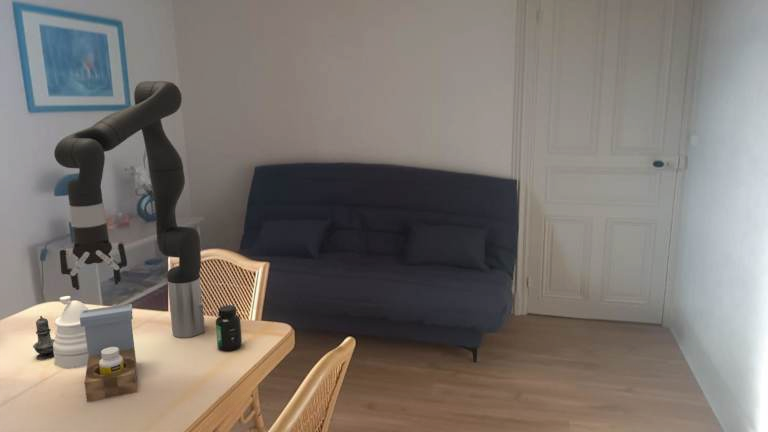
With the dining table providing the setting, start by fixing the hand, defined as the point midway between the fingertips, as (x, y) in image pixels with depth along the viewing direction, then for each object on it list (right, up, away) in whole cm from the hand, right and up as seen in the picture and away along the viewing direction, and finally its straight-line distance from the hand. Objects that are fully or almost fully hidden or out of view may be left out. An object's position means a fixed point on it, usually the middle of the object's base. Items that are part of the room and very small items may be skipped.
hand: (97, 286), depth 138 cm
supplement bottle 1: (+2, -26, +4) cm, 26 cm away
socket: (+1, -25, +6) cm, 26 cm away
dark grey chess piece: (-25, -22, +21) cm, 39 cm away
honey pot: (-15, -22, +20) cm, 33 cm away
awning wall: (-2, -24, +12) cm, 27 cm away
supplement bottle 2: (+26, -21, +25) cm, 42 cm away
